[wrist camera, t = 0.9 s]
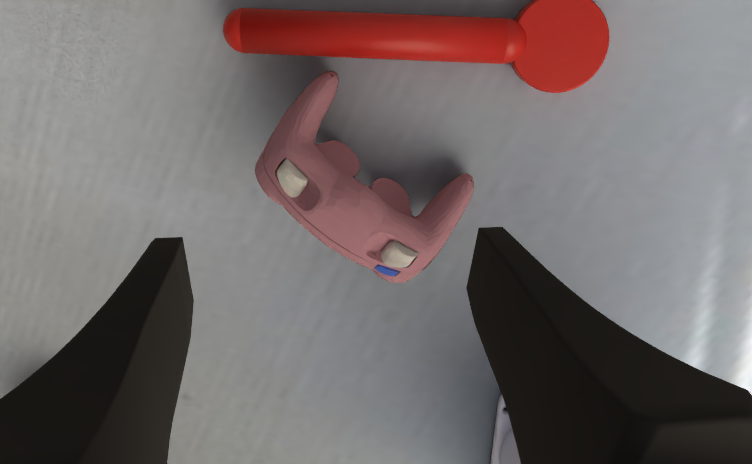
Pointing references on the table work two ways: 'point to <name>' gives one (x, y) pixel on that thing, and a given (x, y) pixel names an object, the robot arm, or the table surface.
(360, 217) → the video game controller
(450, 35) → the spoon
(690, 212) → the table surface
